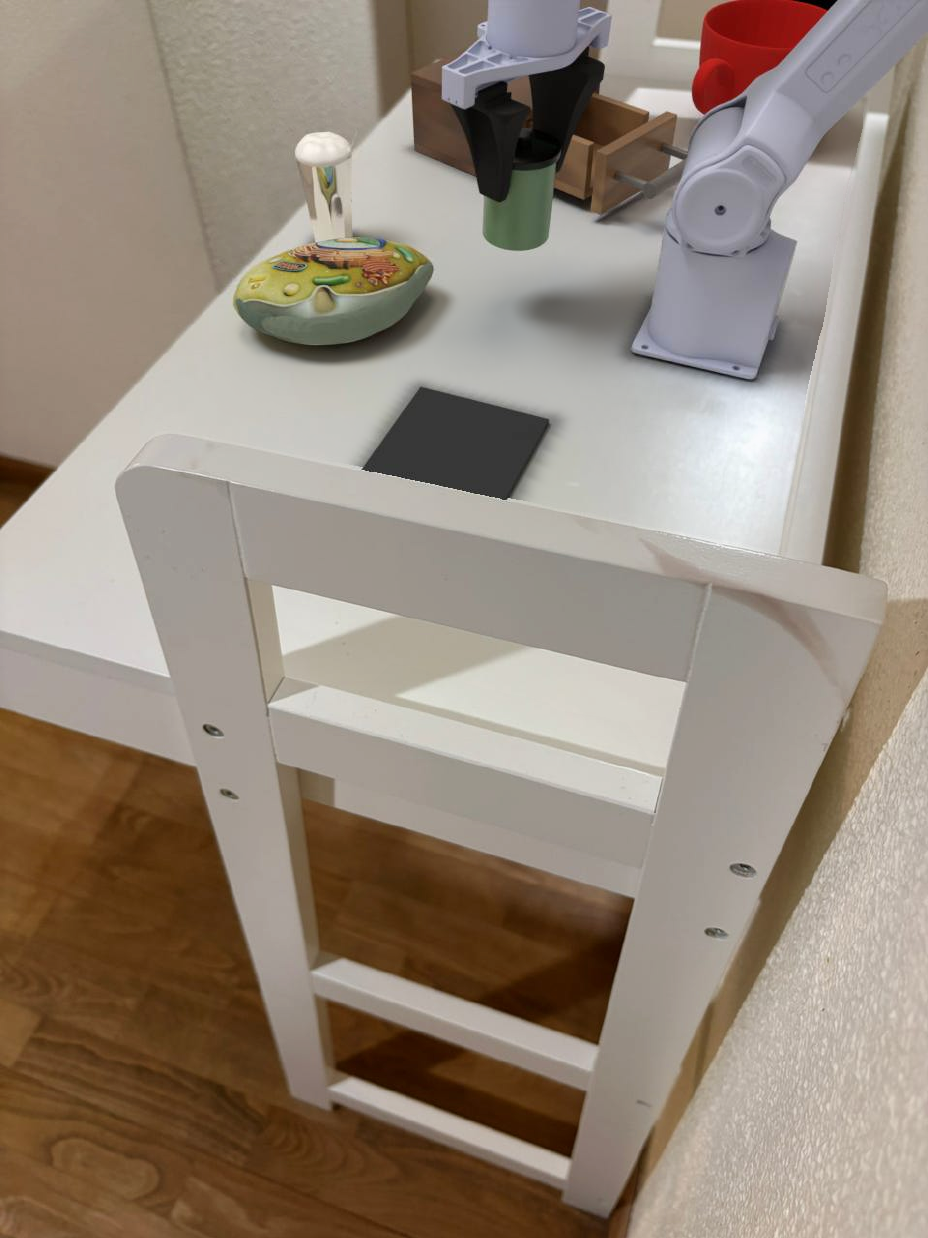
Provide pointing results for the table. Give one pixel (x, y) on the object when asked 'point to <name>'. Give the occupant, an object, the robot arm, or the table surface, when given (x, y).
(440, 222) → the table surface
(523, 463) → the mat
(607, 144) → the drawer
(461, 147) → the cabinet
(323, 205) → the milkshake
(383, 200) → the table surface
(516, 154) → the pot
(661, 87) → the table surface
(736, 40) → the ceramic cup
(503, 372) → the table surface
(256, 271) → the cell model
